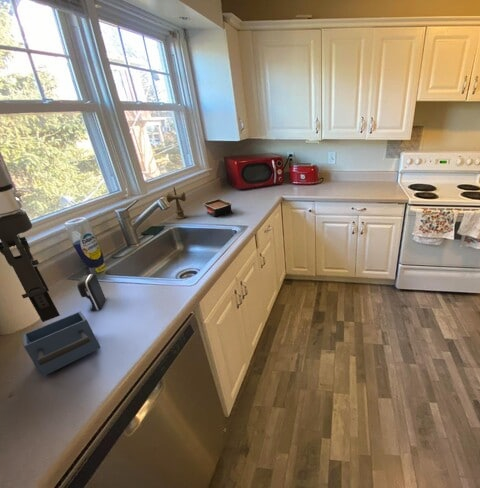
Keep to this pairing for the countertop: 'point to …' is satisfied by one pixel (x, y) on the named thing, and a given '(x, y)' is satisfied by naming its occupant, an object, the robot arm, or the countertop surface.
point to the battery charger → (91, 291)
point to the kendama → (177, 202)
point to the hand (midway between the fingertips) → (46, 304)
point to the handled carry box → (60, 343)
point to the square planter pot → (218, 207)
